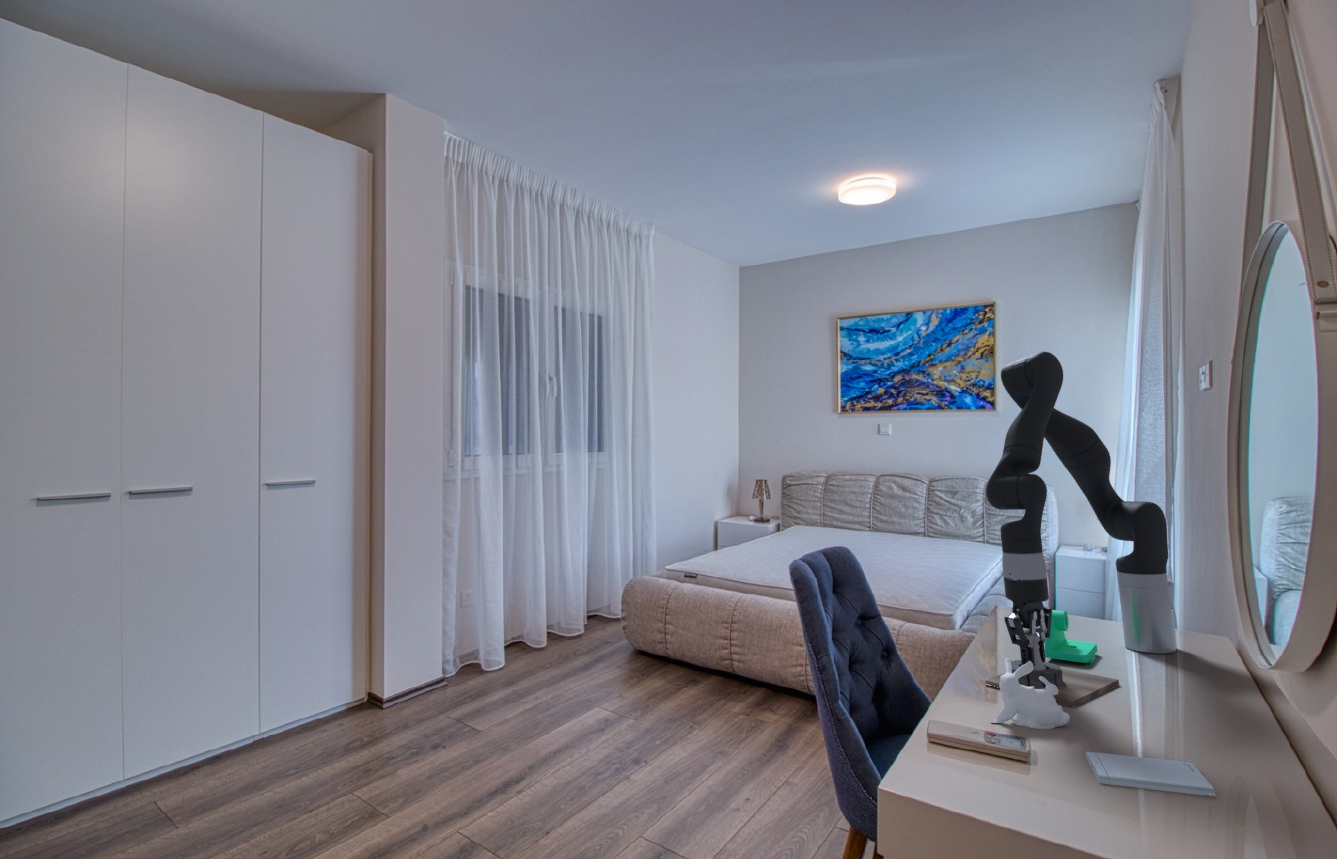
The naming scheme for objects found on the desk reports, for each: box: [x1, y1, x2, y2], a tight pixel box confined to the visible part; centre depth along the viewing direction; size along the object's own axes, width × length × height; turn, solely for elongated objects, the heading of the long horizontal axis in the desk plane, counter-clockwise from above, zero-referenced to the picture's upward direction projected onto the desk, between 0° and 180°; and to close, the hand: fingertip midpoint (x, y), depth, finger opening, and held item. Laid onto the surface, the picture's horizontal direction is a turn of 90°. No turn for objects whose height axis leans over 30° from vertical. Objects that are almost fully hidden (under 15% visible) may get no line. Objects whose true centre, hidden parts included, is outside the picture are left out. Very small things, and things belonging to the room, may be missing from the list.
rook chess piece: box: [1025, 633, 1046, 671], centre depth 123 cm, size 4×4×8 cm
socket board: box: [984, 659, 1120, 708], centre depth 121 cm, size 18×16×4 cm
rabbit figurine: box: [993, 657, 1071, 730], centre depth 106 cm, size 12×8×10 cm, turn 62°
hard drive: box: [1085, 751, 1216, 796], centre depth 85 cm, size 2×8×12 cm
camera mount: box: [1044, 609, 1098, 664], centre depth 138 cm, size 12×8×10 cm, turn 136°
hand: (1033, 663), depth 122 cm, fingers closed on rook chess piece, 3 cm apart
